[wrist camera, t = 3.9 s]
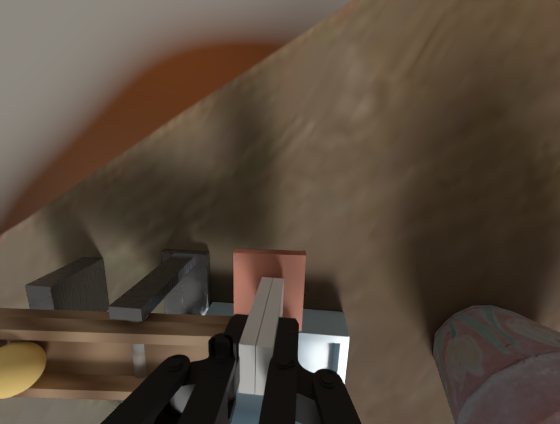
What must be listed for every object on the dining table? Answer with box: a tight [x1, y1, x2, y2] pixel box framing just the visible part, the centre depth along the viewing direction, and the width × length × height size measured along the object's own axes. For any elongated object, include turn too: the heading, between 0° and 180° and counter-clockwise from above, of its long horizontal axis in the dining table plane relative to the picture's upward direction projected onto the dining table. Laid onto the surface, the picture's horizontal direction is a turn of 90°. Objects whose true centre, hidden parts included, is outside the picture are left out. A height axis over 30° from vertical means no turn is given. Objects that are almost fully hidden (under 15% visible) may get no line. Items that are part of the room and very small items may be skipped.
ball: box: [0, 341, 46, 399], centre depth 19 cm, size 4×4×4 cm
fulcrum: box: [108, 249, 211, 403], centre depth 25 cm, size 5×10×10 cm, turn 178°
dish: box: [205, 302, 350, 424], centre depth 29 cm, size 15×15×4 cm
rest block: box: [25, 257, 109, 312], centre depth 27 cm, size 2×6×6 cm, turn 178°
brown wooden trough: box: [0, 249, 306, 400], centre depth 19 cm, size 24×12×4 cm, turn 88°
